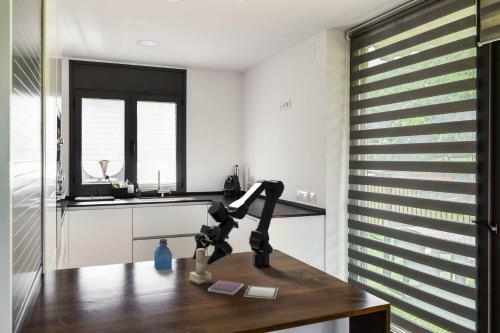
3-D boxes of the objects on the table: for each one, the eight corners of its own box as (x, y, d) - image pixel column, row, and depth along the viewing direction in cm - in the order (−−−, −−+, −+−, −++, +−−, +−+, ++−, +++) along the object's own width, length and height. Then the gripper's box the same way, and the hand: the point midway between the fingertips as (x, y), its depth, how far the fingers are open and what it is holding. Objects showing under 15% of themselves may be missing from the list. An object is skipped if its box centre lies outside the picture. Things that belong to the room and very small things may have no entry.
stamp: (202, 278, 154) (202, 246, 154) (211, 281, 150) (211, 249, 149) (189, 281, 150) (190, 249, 149) (198, 285, 145) (199, 252, 145)
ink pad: (219, 282, 149) (219, 279, 149) (243, 286, 145) (243, 282, 145) (207, 291, 139) (207, 287, 139) (233, 295, 136) (233, 291, 136)
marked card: (249, 285, 146) (249, 285, 146) (278, 288, 144) (278, 287, 144) (243, 296, 135) (243, 295, 135) (275, 298, 133) (275, 298, 133)
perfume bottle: (154, 266, 169) (154, 238, 169) (168, 264, 171) (168, 237, 171) (157, 270, 163) (157, 241, 163) (171, 268, 166) (172, 240, 166)
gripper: (198, 214, 159) (174, 244, 152) (227, 220, 146) (203, 253, 138) (213, 231, 165) (191, 261, 158) (242, 238, 151) (219, 271, 144)
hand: (200, 261), depth 149 cm, fingers open, 9 cm apart
